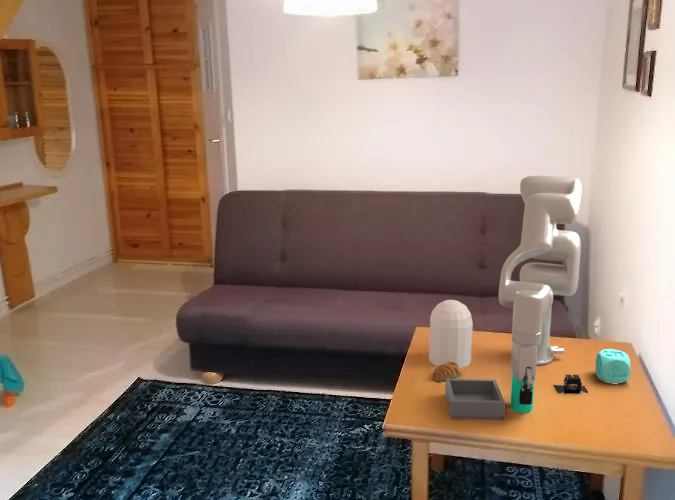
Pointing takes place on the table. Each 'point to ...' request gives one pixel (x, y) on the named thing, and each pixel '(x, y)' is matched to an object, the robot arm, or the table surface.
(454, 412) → the bin
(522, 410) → the candle
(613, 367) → the decorative dice
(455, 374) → the pastry
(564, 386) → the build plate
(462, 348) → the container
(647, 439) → the table surface
